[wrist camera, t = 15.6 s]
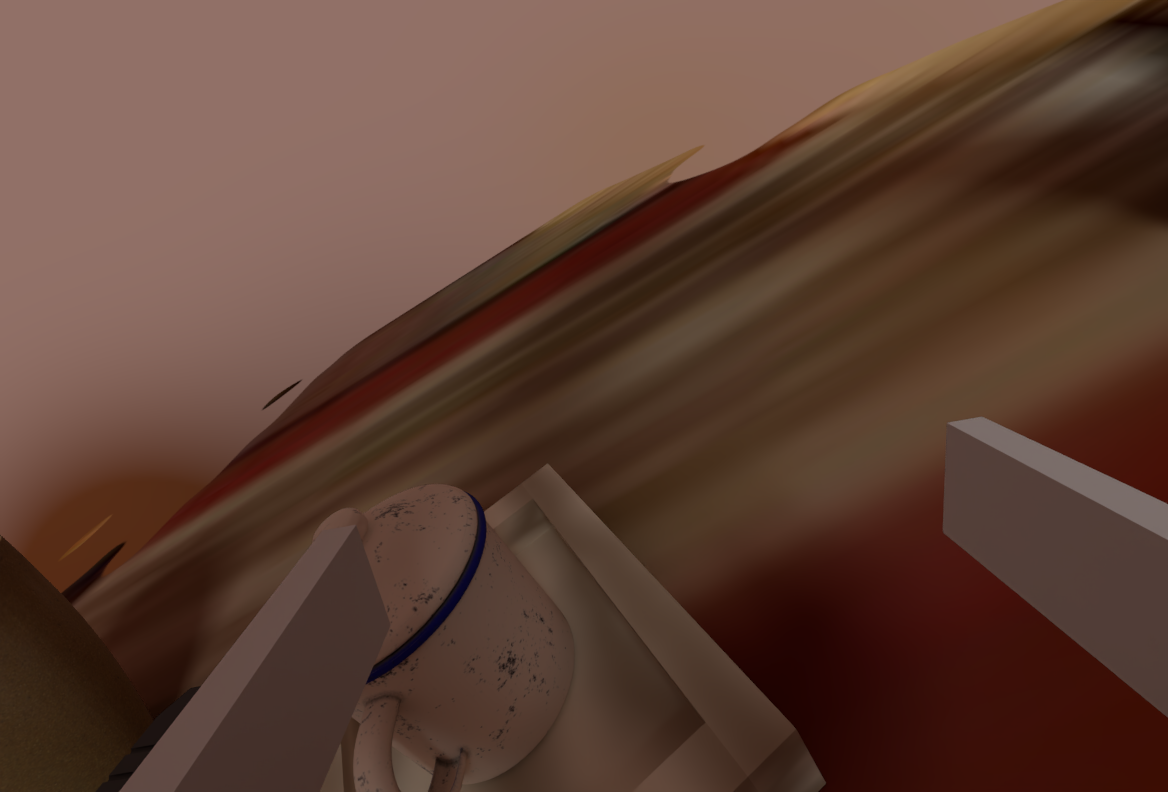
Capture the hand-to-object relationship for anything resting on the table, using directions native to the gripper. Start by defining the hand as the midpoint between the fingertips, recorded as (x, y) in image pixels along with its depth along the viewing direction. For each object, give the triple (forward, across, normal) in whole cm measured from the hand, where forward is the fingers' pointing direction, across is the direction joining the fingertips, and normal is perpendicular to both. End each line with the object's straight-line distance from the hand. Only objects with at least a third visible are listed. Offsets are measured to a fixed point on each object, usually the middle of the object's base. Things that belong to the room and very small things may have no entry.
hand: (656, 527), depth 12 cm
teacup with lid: (+8, -8, -14) cm, 18 cm away
